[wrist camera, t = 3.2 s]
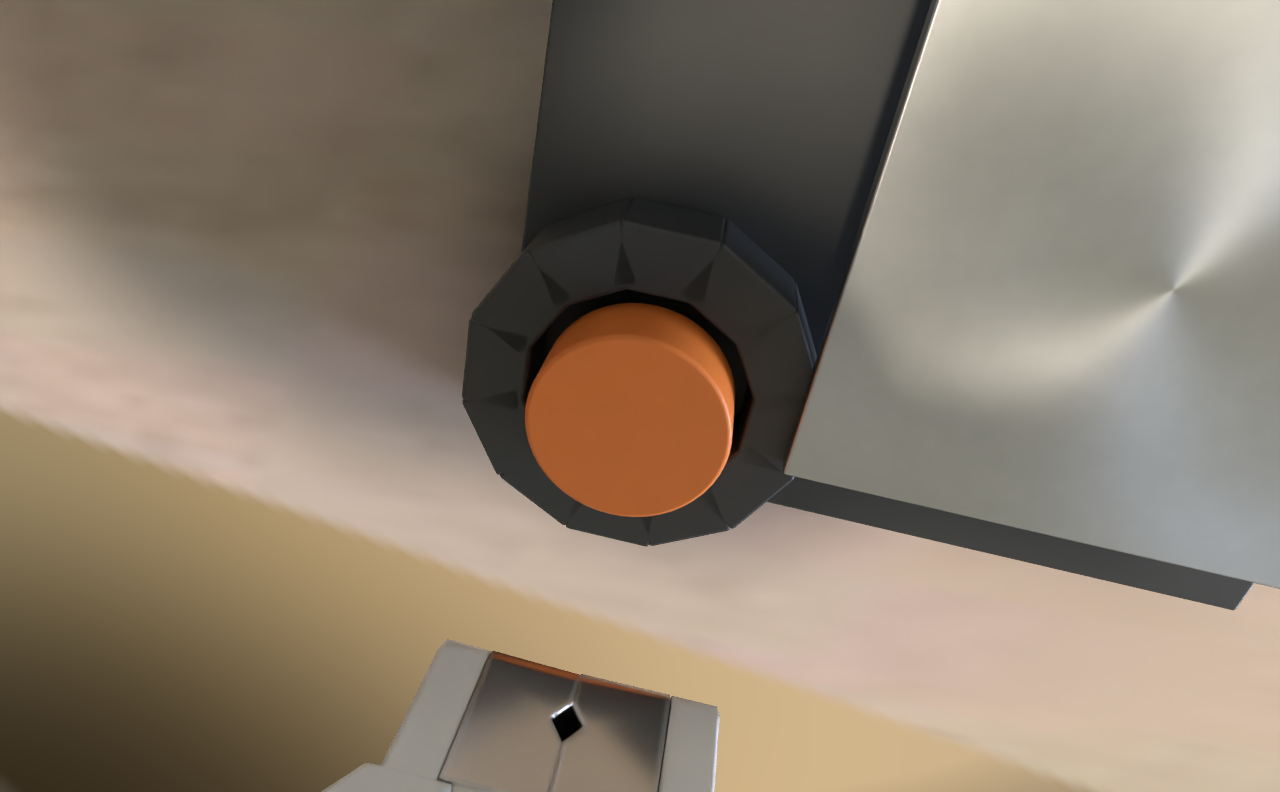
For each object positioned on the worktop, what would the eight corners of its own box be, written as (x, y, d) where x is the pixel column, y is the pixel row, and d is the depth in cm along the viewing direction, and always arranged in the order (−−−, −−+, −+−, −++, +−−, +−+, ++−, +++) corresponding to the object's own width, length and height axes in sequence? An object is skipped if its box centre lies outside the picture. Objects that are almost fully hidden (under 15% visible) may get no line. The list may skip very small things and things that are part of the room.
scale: (492, 428, 20) (450, 502, 17) (571, -227, 14) (524, -270, 11) (1190, 591, 19) (1258, 691, 17) (1590, -14, 13) (1794, -6, 11)
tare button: (533, 449, 17) (512, 493, 15) (558, 281, 15) (537, 313, 14) (711, 490, 17) (705, 538, 15) (756, 326, 15) (755, 364, 13)
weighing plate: (782, 462, 16) (782, 474, 15) (975, -139, 11) (981, -141, 11) (1297, 582, 15) (1309, 596, 15) (1713, 16, 11) (1745, 18, 10)
